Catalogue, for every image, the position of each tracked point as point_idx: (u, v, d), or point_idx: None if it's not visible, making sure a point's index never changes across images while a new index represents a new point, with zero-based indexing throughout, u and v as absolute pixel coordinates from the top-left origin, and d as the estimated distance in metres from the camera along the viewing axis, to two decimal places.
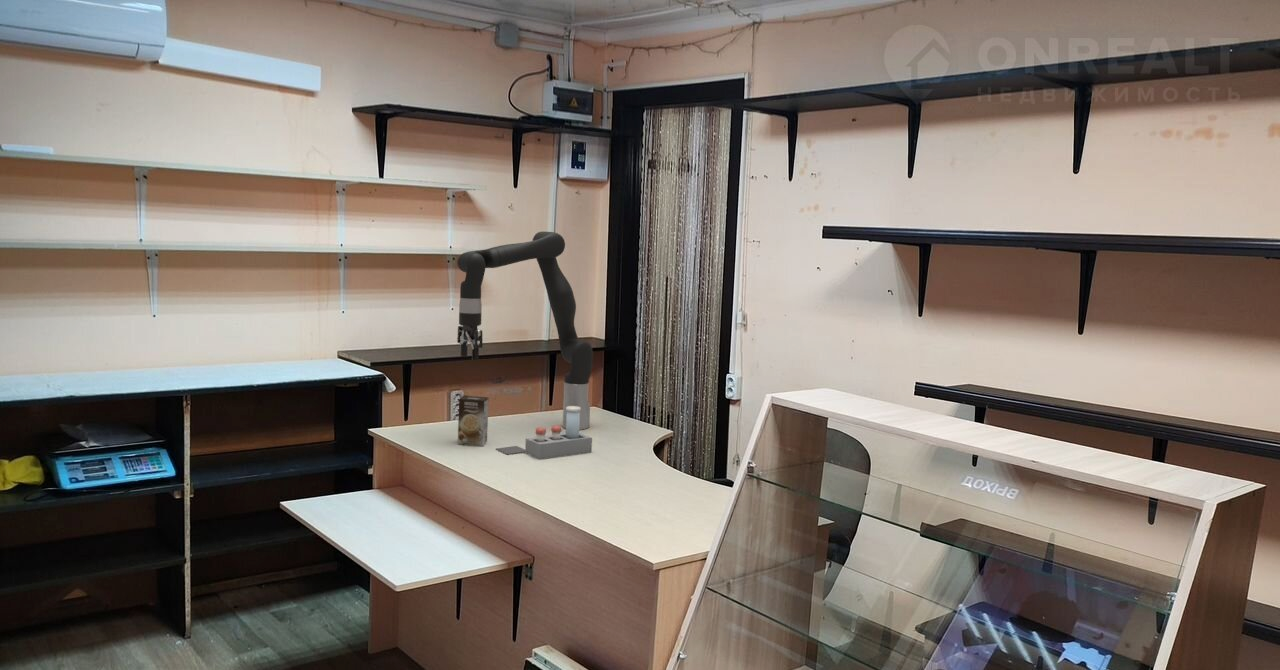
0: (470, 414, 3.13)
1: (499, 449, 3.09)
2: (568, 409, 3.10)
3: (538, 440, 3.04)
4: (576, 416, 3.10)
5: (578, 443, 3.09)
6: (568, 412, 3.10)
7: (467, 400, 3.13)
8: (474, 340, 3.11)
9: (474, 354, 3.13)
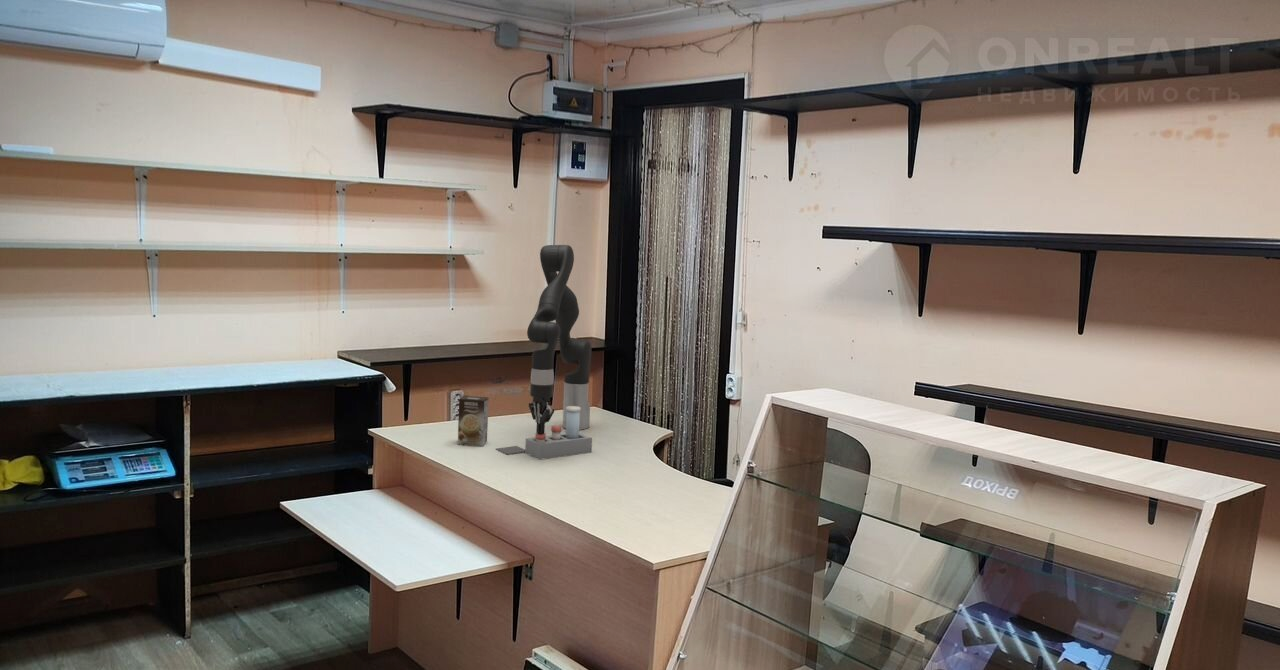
0: (470, 414, 3.13)
1: (499, 449, 3.09)
2: (568, 409, 3.10)
3: None
4: (576, 416, 3.10)
5: (578, 443, 3.09)
6: (568, 412, 3.10)
7: (467, 400, 3.13)
8: (543, 415, 3.01)
9: (540, 428, 3.03)
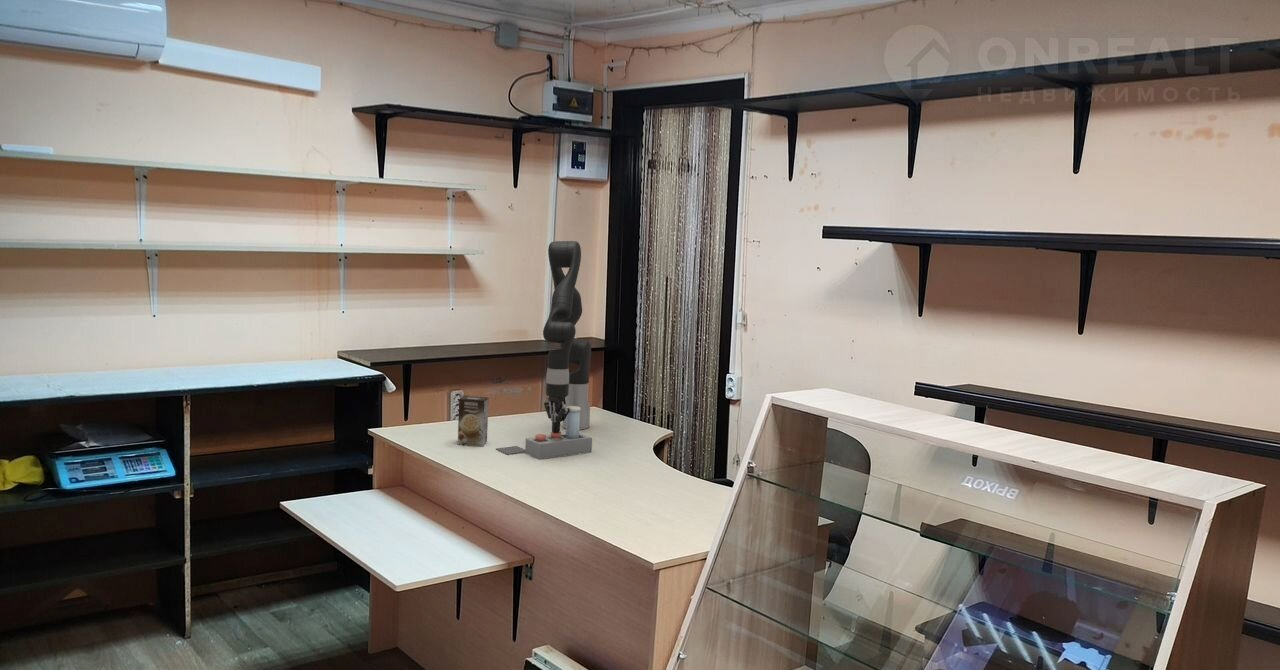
0: (470, 414, 3.13)
1: (499, 449, 3.09)
2: None
3: None
4: (576, 416, 3.10)
5: (578, 443, 3.09)
6: None
7: (467, 400, 3.13)
8: (558, 414, 3.04)
9: (556, 427, 3.07)
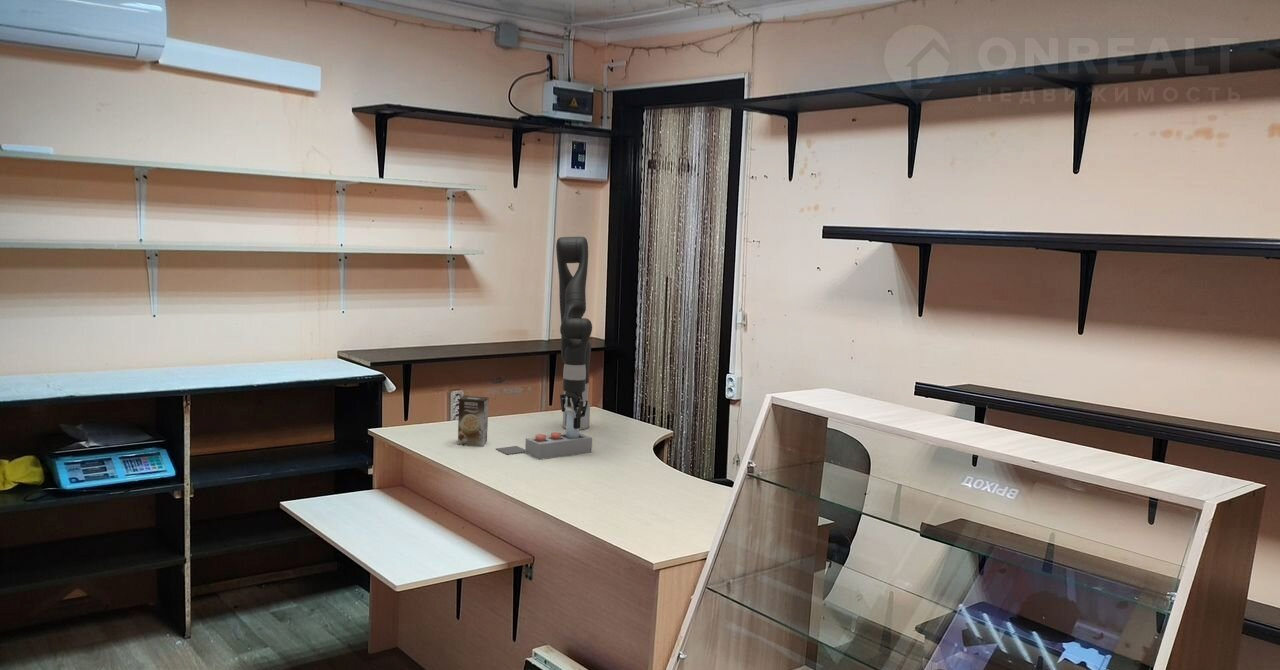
0: (470, 414, 3.13)
1: (499, 449, 3.09)
2: (568, 409, 3.10)
3: None
4: None
5: (578, 443, 3.09)
6: (568, 412, 3.10)
7: (467, 400, 3.13)
8: (578, 409, 3.07)
9: (576, 423, 3.09)
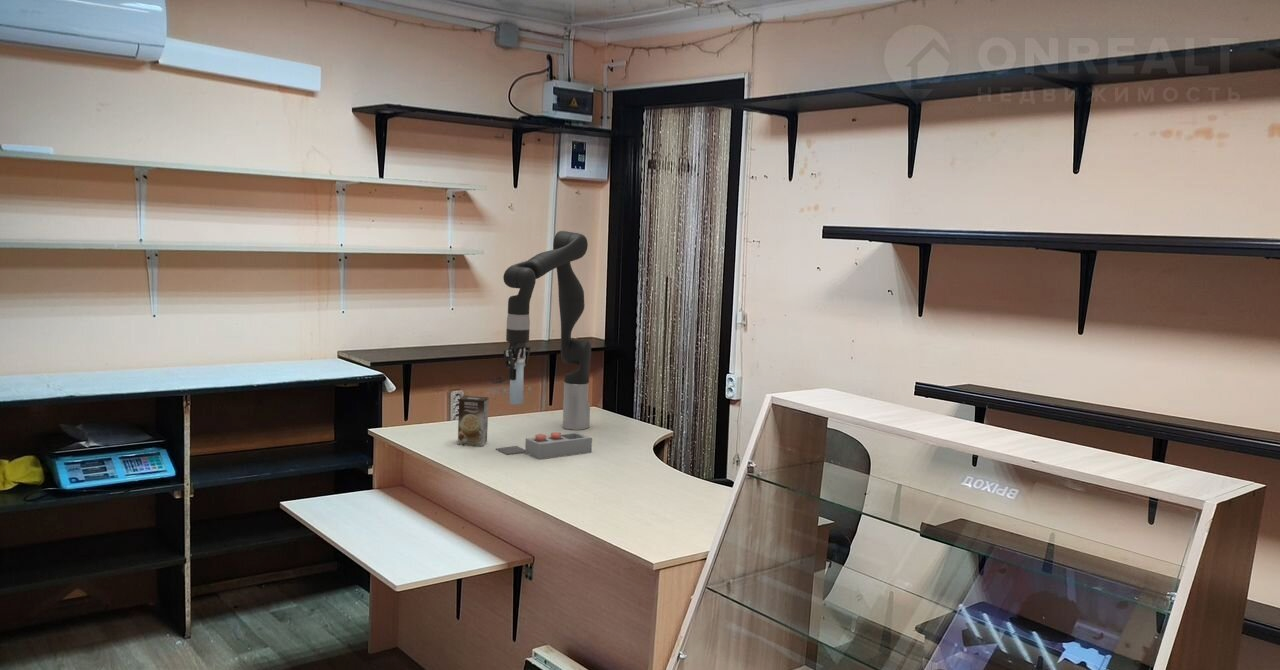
0: (470, 414, 3.13)
1: (499, 449, 3.09)
2: None
3: None
4: None
5: (578, 443, 3.09)
6: None
7: (467, 400, 3.13)
8: None
9: None
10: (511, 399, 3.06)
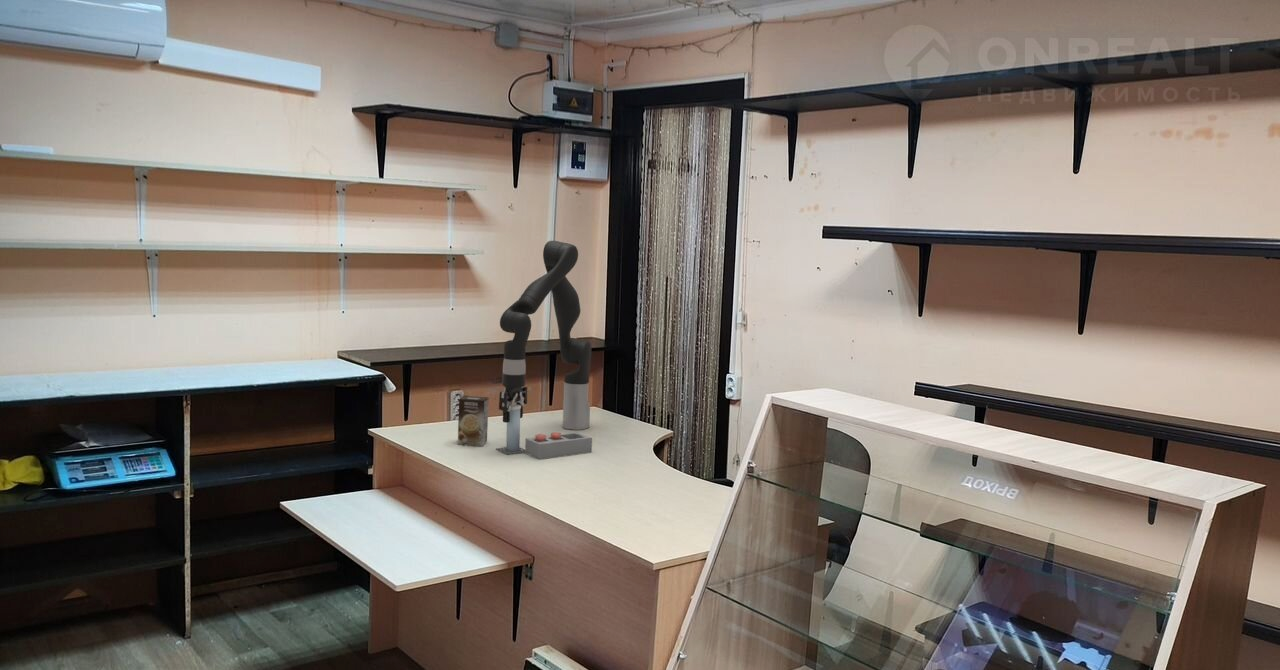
0: (470, 414, 3.13)
1: (499, 449, 3.09)
2: None
3: None
4: None
5: (578, 443, 3.09)
6: None
7: (467, 400, 3.13)
8: None
9: (503, 416, 3.04)
10: (507, 446, 3.08)
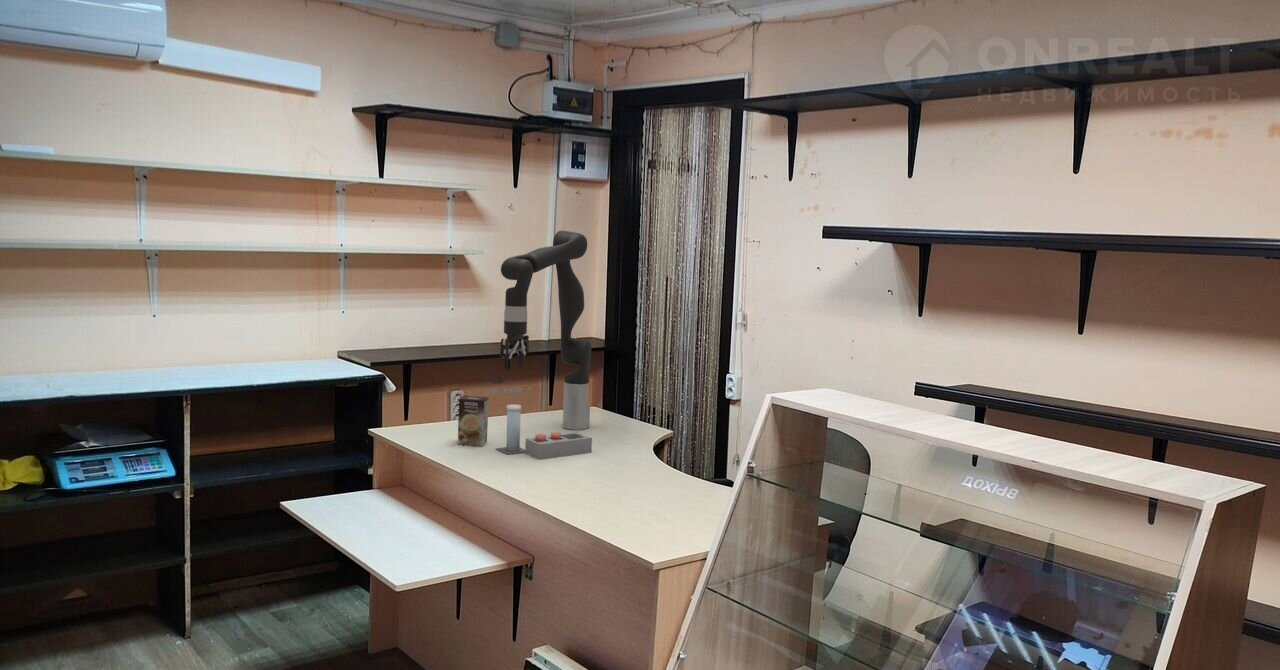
0: (470, 414, 3.13)
1: (499, 449, 3.09)
2: None
3: None
4: (509, 415, 3.06)
5: (578, 443, 3.09)
6: None
7: (467, 400, 3.13)
8: None
9: None
10: (507, 446, 3.08)
